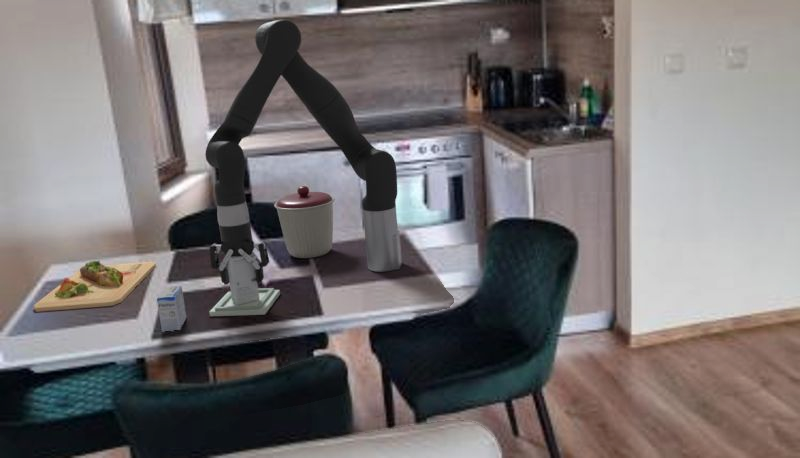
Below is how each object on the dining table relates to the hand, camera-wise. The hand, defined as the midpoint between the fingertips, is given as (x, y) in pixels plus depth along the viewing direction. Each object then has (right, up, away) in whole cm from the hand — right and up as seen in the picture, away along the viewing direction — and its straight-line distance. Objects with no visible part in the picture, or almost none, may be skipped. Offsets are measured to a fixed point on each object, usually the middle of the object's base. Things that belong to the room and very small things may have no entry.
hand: (243, 282), depth 191 cm
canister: (+12, +6, +41) cm, 43 cm away
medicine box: (-15, -10, -8) cm, 19 cm away
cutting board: (-47, -4, +27) cm, 54 cm away
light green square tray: (0, -6, +2) cm, 6 cm away
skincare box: (+1, -5, +1) cm, 5 cm away
